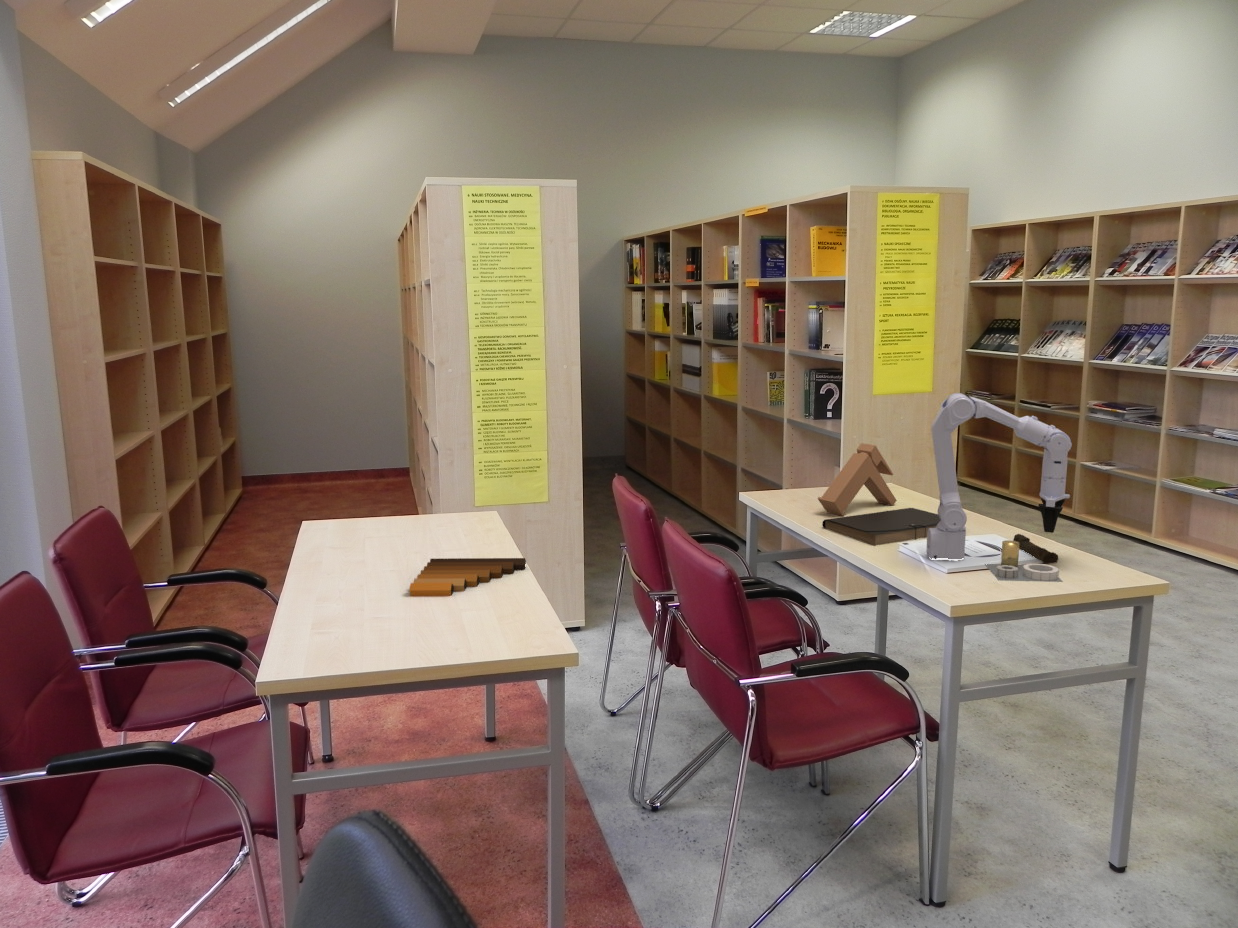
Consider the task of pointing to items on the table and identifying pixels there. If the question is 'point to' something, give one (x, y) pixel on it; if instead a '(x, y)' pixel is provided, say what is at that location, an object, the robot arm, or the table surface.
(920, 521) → the dark brown book
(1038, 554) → the brown wooden stick
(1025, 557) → the table surface
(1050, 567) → the fitting board
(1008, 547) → the round peg
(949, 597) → the table surface
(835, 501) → the wooden a-frame
